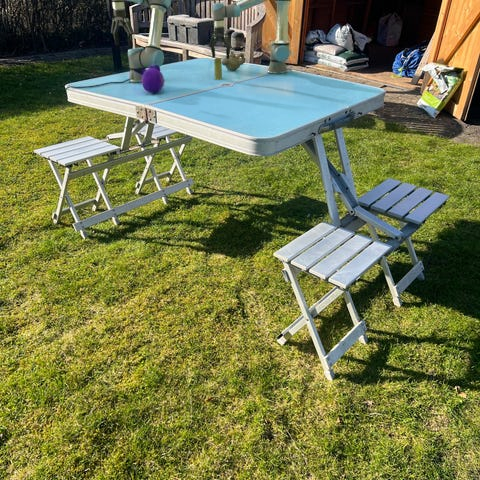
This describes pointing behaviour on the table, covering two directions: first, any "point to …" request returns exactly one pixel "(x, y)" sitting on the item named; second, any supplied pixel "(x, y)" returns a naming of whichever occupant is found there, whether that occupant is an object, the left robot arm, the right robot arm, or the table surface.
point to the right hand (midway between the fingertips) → (220, 58)
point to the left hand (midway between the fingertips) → (124, 45)
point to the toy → (152, 79)
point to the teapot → (233, 61)
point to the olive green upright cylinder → (218, 68)
